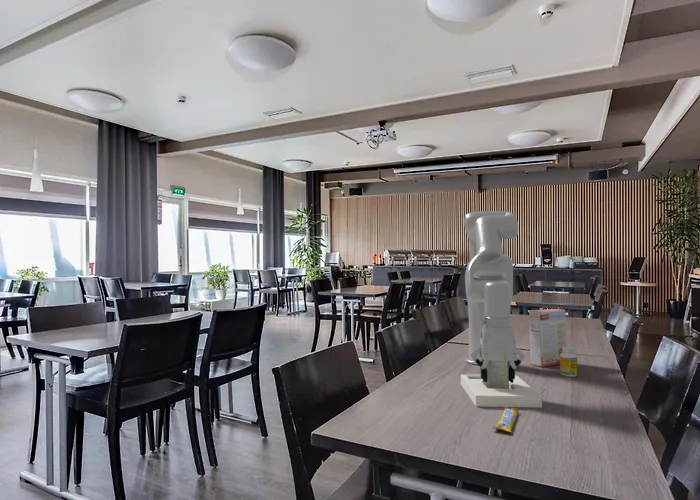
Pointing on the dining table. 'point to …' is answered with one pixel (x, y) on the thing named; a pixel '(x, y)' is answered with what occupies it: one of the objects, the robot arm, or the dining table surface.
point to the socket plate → (500, 393)
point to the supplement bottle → (568, 362)
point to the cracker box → (547, 336)
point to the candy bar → (507, 419)
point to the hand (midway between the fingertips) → (497, 380)
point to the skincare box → (498, 374)
